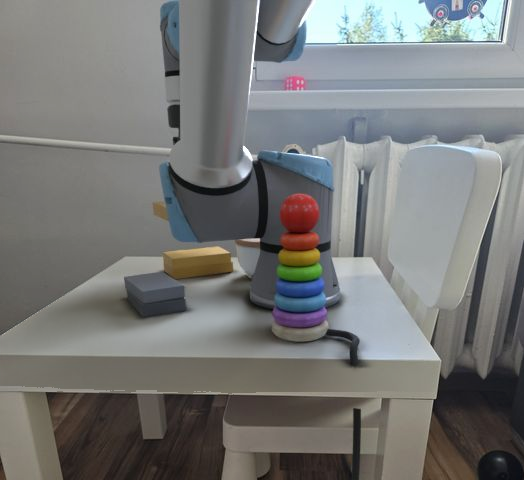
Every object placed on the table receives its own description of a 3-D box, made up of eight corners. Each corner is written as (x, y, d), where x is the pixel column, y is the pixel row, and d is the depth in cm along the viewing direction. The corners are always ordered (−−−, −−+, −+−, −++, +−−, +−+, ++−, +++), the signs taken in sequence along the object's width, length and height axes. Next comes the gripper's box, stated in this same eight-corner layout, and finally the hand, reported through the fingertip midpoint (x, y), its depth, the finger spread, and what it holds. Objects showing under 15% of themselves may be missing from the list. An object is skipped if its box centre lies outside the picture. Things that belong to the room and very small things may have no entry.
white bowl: (251, 267, 106) (250, 222, 102) (298, 272, 101) (298, 225, 98) (226, 279, 97) (224, 230, 93) (276, 285, 92) (276, 234, 89)
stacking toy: (335, 327, 71) (341, 191, 64) (318, 347, 65) (322, 198, 57) (284, 320, 74) (284, 190, 67) (262, 339, 68) (260, 196, 60)
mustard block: (168, 221, 92) (166, 207, 91) (153, 214, 100) (152, 202, 99) (237, 215, 98) (236, 202, 97) (218, 209, 106) (217, 198, 105)
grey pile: (187, 310, 80) (185, 286, 78) (142, 317, 77) (139, 292, 75) (167, 292, 89) (165, 271, 87) (126, 298, 86) (123, 276, 84)
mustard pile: (219, 264, 109) (218, 245, 108) (233, 271, 103) (232, 252, 101) (163, 271, 104) (161, 252, 102) (174, 279, 97) (172, 259, 96)
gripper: (230, 100, 83) (235, 234, 92) (187, 108, 102) (194, 218, 111) (188, 100, 80) (196, 238, 89) (151, 107, 99) (161, 221, 108)
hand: (195, 227), depth 100 cm, fingers closed on mustard block, 10 cm apart
